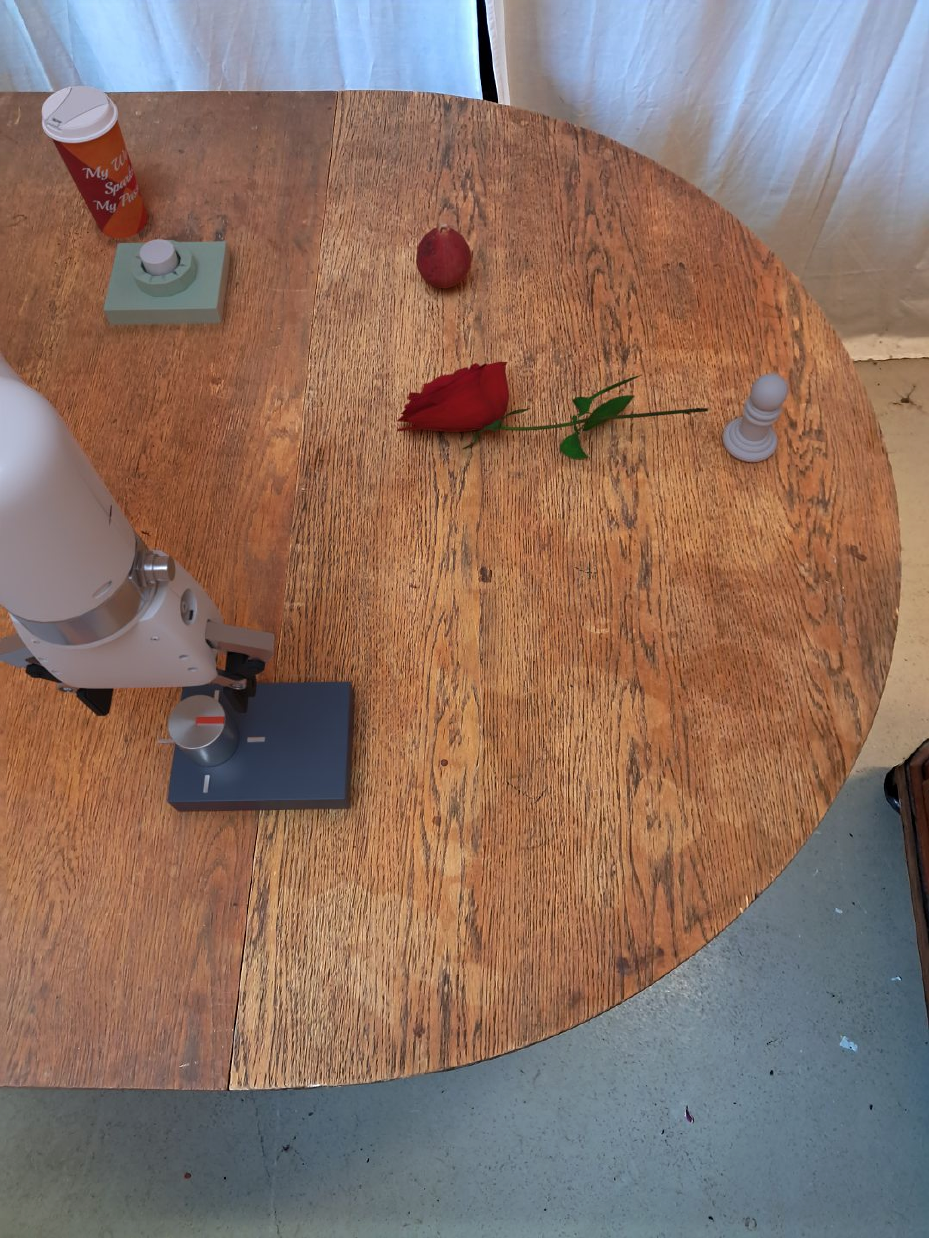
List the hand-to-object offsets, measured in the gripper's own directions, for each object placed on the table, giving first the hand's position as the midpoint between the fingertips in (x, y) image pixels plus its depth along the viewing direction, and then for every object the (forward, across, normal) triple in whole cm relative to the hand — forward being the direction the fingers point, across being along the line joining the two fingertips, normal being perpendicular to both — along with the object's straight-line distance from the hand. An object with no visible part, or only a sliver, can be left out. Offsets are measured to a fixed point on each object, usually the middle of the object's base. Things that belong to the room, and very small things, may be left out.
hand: (176, 694), depth 63 cm
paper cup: (+13, +18, -64) cm, 68 cm away
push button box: (+13, +11, -53) cm, 56 cm away
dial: (+10, 0, 0) cm, 10 cm away
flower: (+14, -29, -33) cm, 46 cm away
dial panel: (+13, -4, 0) cm, 14 cm away
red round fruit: (+13, -19, -53) cm, 58 cm away
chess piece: (+14, -49, -31) cm, 59 cm away
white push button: (+9, +11, -53) cm, 55 cm away
